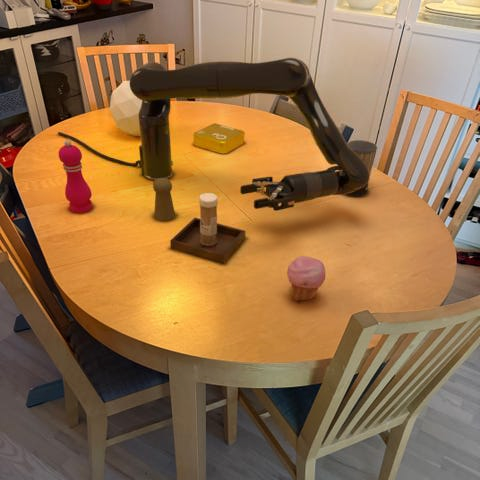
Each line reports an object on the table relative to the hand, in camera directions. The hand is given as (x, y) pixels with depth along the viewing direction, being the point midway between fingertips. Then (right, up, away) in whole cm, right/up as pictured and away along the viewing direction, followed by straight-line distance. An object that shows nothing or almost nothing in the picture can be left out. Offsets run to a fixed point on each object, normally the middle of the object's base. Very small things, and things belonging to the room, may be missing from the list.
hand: (247, 197), depth 122 cm
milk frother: (+33, +12, +34) cm, 48 cm away
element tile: (-10, +35, +56) cm, 67 cm away
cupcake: (+13, -26, -11) cm, 31 cm away
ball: (-42, +41, +61) cm, 85 cm away
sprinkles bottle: (-10, -11, +4) cm, 16 cm away
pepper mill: (-49, +1, +16) cm, 51 cm away
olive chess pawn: (-24, -2, +14) cm, 28 cm away
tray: (-10, -11, +4) cm, 16 cm away
